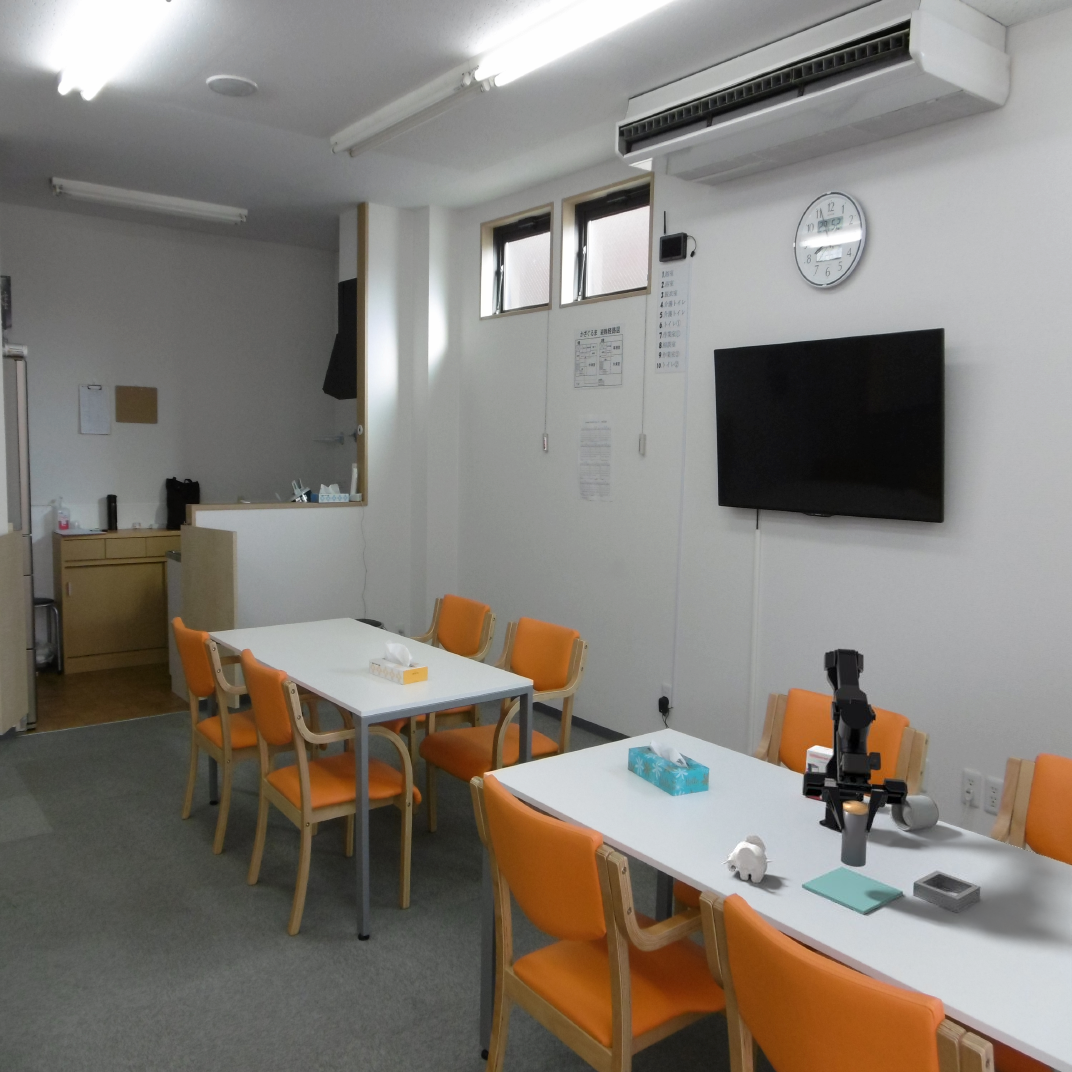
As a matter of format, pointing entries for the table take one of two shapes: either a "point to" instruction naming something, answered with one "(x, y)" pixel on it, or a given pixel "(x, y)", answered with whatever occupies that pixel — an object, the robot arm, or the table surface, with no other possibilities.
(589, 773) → the table surface
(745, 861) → the elephant figurine
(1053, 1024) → the table surface
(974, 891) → the collar
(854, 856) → the grey orange domed cylinder
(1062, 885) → the table surface
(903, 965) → the table surface
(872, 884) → the teal mat
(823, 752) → the ink box
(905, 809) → the ceramic mug
